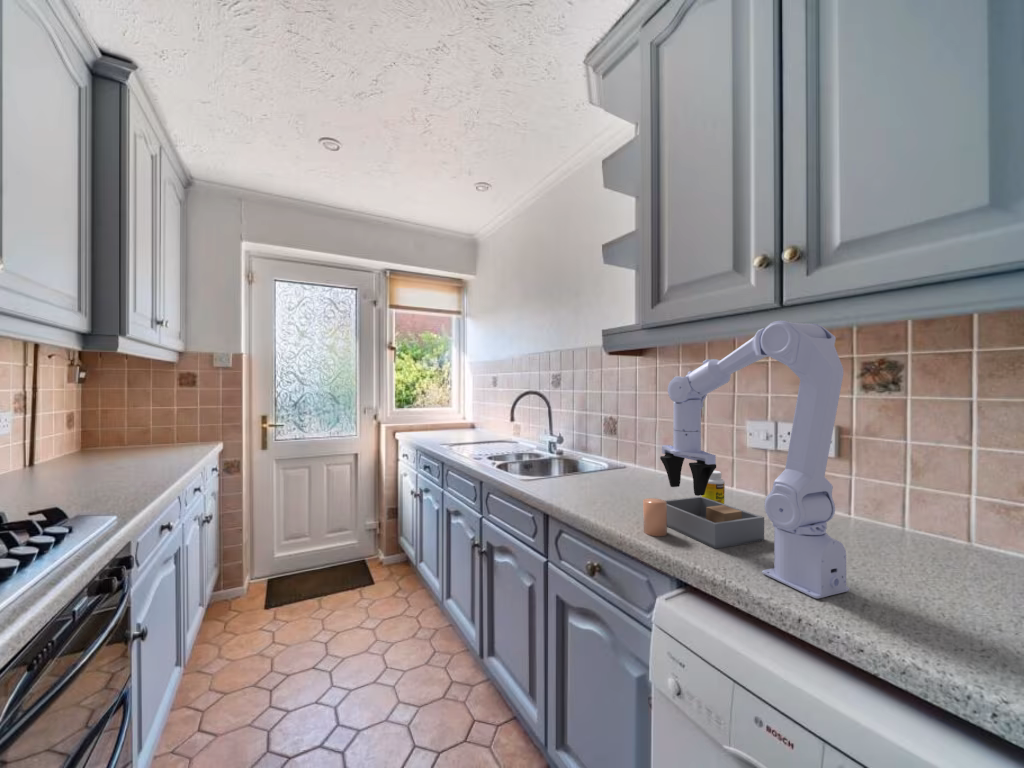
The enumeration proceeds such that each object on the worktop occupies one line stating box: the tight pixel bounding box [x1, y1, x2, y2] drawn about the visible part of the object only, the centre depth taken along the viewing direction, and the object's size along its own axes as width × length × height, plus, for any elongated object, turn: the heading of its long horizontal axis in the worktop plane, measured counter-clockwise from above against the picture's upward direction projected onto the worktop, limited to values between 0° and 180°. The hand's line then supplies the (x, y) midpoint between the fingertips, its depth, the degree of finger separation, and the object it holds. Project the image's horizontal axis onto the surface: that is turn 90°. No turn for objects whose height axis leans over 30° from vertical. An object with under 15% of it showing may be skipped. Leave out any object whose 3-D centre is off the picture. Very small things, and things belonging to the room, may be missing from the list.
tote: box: [664, 495, 765, 550], centre depth 94 cm, size 18×14×5 cm
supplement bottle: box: [701, 470, 726, 504], centre depth 110 cm, size 6×6×10 cm
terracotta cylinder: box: [642, 497, 668, 537], centre depth 93 cm, size 5×5×7 cm
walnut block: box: [706, 505, 742, 523], centre depth 91 cm, size 5×5×5 cm
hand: (686, 490), depth 92 cm, fingers open, 7 cm apart
